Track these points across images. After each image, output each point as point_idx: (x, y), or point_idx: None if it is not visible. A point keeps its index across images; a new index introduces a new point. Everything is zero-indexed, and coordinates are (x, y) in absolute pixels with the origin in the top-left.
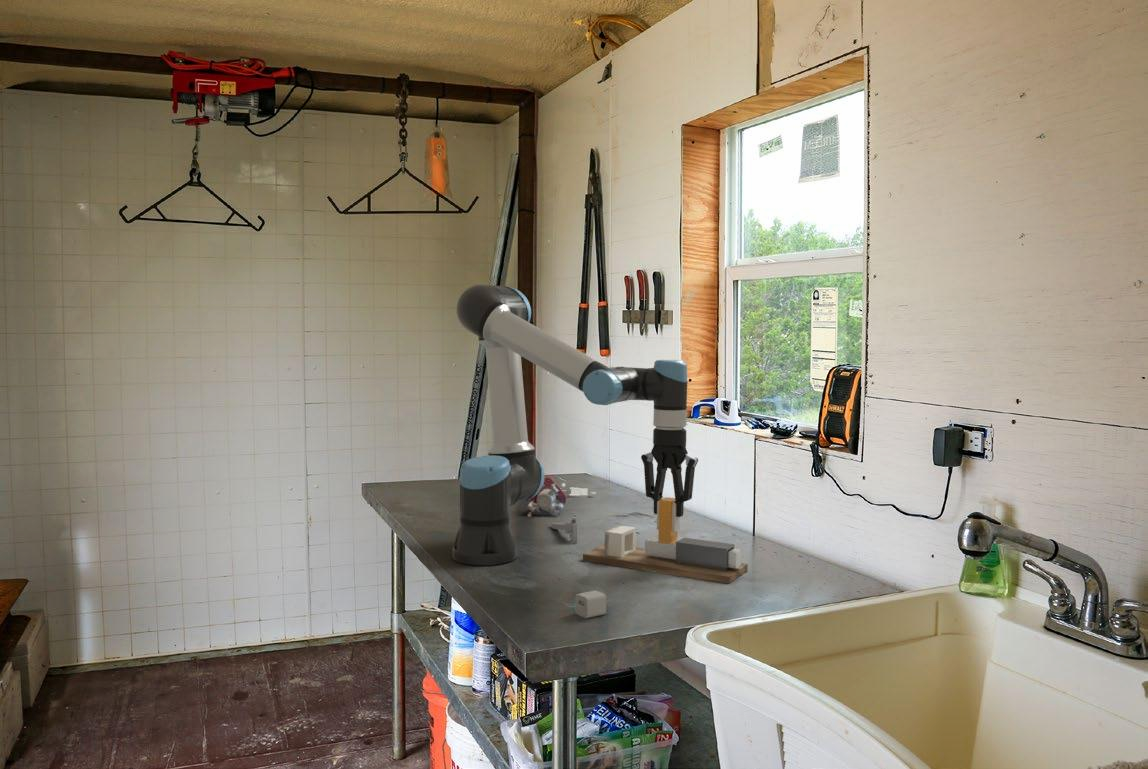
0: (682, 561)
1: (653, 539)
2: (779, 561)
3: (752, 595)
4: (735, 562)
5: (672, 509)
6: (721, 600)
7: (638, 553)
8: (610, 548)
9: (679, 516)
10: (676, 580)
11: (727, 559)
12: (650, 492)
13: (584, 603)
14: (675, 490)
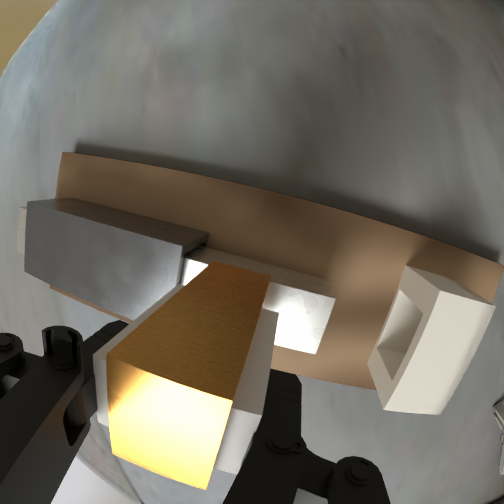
0: (182, 228)
1: (300, 322)
2: None
3: (41, 94)
4: None
5: None
6: (91, 30)
7: (355, 329)
8: (449, 281)
9: (121, 321)
10: (194, 121)
11: None
12: (335, 492)
13: None
14: (23, 422)
